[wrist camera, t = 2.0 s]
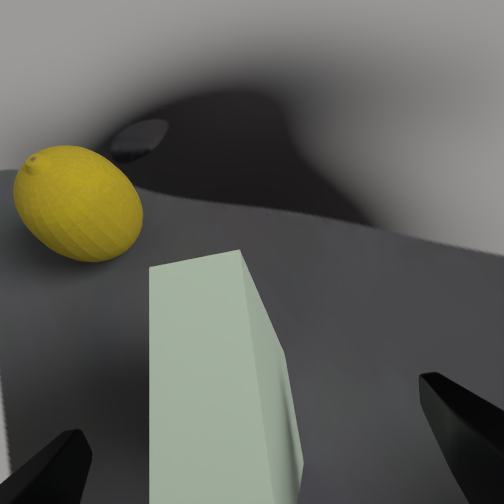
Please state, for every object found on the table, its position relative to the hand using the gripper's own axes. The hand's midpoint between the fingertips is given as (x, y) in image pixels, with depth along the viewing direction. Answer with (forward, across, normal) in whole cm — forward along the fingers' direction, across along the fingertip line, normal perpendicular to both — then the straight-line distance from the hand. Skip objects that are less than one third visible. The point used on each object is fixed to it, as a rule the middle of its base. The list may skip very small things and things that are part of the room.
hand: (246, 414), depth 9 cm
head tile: (+6, 0, +6) cm, 8 cm away
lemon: (+14, +8, -2) cm, 16 cm away
